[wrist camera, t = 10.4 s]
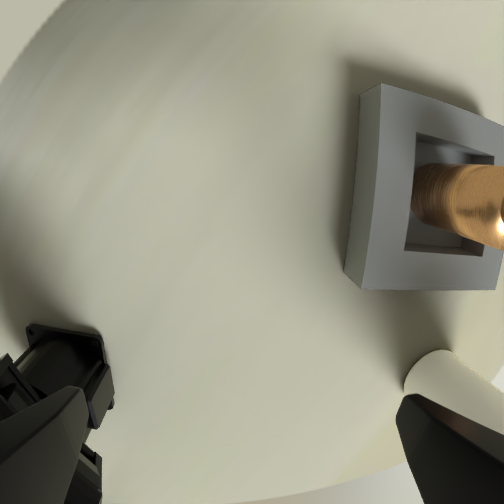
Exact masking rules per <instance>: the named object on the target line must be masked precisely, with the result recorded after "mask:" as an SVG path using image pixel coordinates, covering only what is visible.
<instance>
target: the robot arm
mask: <svg viewBox="0 0 504 504" xmlns="http://www.w3.org/2000/svg"><path fill="white" fill-rule="evenodd" d="M31 330H32V331H33V332H32V331H31ZM26 334H27V338H28V342H29V346H30V347H29V348H28V349H27V350H26V351H25V352H24V353H23V354H22V355H21V356H20V357H19V358H18V359H17V360H16V361H15V362H14V363H13V362H12V361H13V360H12V358H11V357H10V356H9V354H8V353H7V354H5V355H4V356H2V357H1V358H0V504H101V502H102V457H101V456H100V455H98V454H97V453H96V452H93V451H92V450H91V449H90V448H89V447H88V446H87V445H86V444H85V442H86V440H87V438H88V436H89V433H90V431H91V429H96V430H97V429H98V428H99V427H100V425H101V422H102V420H103V418H104V416H105V413H106V411H107V410H111V409H112V408H113V406H114V399H113V396H114V394H115V392H114V386H113V381H112V376H111V370H110V366H109V365H108V364H107V361H106V355H105V349H104V342H103V339H102V338H101V337H100V336H99V335H96V334H89V333H83V332H76V331H70V330H64V329H58V328H52V327H46V326H41V325H36V324H30V325H28V326H27V327H26ZM94 340H95V341H97V342H98V344H96V343H95V342H94ZM396 425H397V428H398V431H399V435H400V438H401V441H402V445H403V448H404V452H405V455H406V458H407V462H408V464H409V467H410V469H411V472H412V474H413V477H414V479H415V482H416V484H417V486H418V489H419V491H420V494H421V497H422V499H423V502H424V504H504V435H503V434H501V433H499V432H496V431H494V430H492V429H490V428H488V427H486V426H483V425H481V424H479V423H477V422H475V421H473V420H471V419H469V418H467V417H465V416H462V415H460V414H458V413H456V412H454V411H452V410H450V409H448V408H446V407H444V406H442V405H440V404H438V403H436V402H434V401H432V400H430V399H428V398H426V397H424V396H422V395H420V394H418V393H414V394H408V395H406V396H404V398H403V400H402V402H401V405H400V407H399V410H398V412H397V415H396Z"/></svg>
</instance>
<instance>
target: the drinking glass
mask: <svg viewBox="0 0 504 504" xmlns="http://www.w3.org/2000/svg"><path fill="white" fill-rule="evenodd" d="M414 393H418V394H420V395H422V396H424V397H426V398H428V399H430V400H432V401H434V402H436V403H438V404H440V405H442V406H444V407H446V408H448V409H450V410H452V411H454V412H456V413H458V414H460V415H462V416H465V417H467V418H469V419H471V420H473V421H475V422H477V423H479V424H481V425H483V426H486V427H488V428H490V429H492V430H494V431H496V432H499V433H501V434H503V435H504V393H503V392H502V391H500V390H499V389H498V388H497V387H495V386H494V385H492V384H491V383H490V382H489V381H487V380H486V379H485V378H483V377H482V376H481V375H479V374H478V373H477V372H475V371H474V370H473V369H471V368H470V367H469V366H467V365H466V364H465V363H464V362H463V361H461V360H460V359H459V358H458V357H457V356H456V355H455V354H454V353H452V352H451V351H448V350H436V351H433V352H430V353H428V354H427V355H425V356H424V357H422V358H421V359H420V360H419V361H418V362H417V363H416V364H415V365H414V366H413V367H412V368H411V370H410V371H409V373H408V375H407V377H406V380H405V383H404V394H405V396H406V395H408V394H414Z"/></svg>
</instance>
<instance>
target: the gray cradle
mask: <svg viewBox="0 0 504 504" xmlns="http://www.w3.org/2000/svg"><path fill="white" fill-rule="evenodd" d="M428 163H453V164H478V165H496V166H504V126H502V125H500V124H498V123H495V122H493V121H491V120H488V119H486V118H484V117H481V116H479V115H477V114H474V113H472V112H469V111H467V110H464V109H461V108H459V107H456V106H453V105H451V104H448V103H445V102H442V101H439V100H437V99H434V98H431V97H427V96H424V95H421V94H418V93H415V92H411V91H408V90H405V89H401V88H398V87H394V86H390V85H387V84H383V83H380V84H378V85H376V86H375V87H373V88H371V89H369V90H367V91H365V92H364V93H362V94H360V110H359V130H358V146H357V160H356V172H355V184H354V194H353V203H352V213H351V221H350V229H349V237H348V245H347V252H346V259H345V266H344V273H345V274H346V275H347V276H348V277H349V278H350V279H351V280H352V281H353V282H354V283H355V284H356V285H357V286H358V287H359V288H360V289H368V290H495V288H496V284H497V280H498V276H499V272H500V267H501V263H502V258H503V253H504V251H501V250H498V249H496V248H493V247H490V246H488V245H485V244H482V243H480V242H477V241H474V240H471V239H469V238H466V237H463V236H460V235H457V234H454V233H452V232H449V231H446V230H443V229H440V228H437V227H434V226H431V225H428V224H425V223H423V222H421V221H420V220H418V219H417V218H416V216H415V215H414V214H413V212H412V210H411V207H410V204H411V195H412V185H413V175H414V173H415V171H416V170H417V169H418V168H419V167H421V166H422V165H424V164H428Z"/></svg>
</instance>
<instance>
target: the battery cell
mask: <svg viewBox="0 0 504 504" xmlns="http://www.w3.org/2000/svg"><path fill="white" fill-rule="evenodd" d="M410 207H411V210H412V212H413V214H414V215H415V216H416V218H417V219H418V220H420V221H421V222H423V223H425V224H428V225H431V226H434V227H437V228H440V229H443V230H446V231H449V232H452V233H454V234H457V235H460V236H463V237H466V238H469V239H471V240H474V241H477V242H480V243H482V244H485V245H488V246H490V247H493V248H496V249H498V250H501V251H504V166H496V165H478V164H453V163H428V164H424V165H422V166H421V167H419V168H418V169H417V170H416V171H415V173H414V175H413V185H412V195H411V204H410Z"/></svg>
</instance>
